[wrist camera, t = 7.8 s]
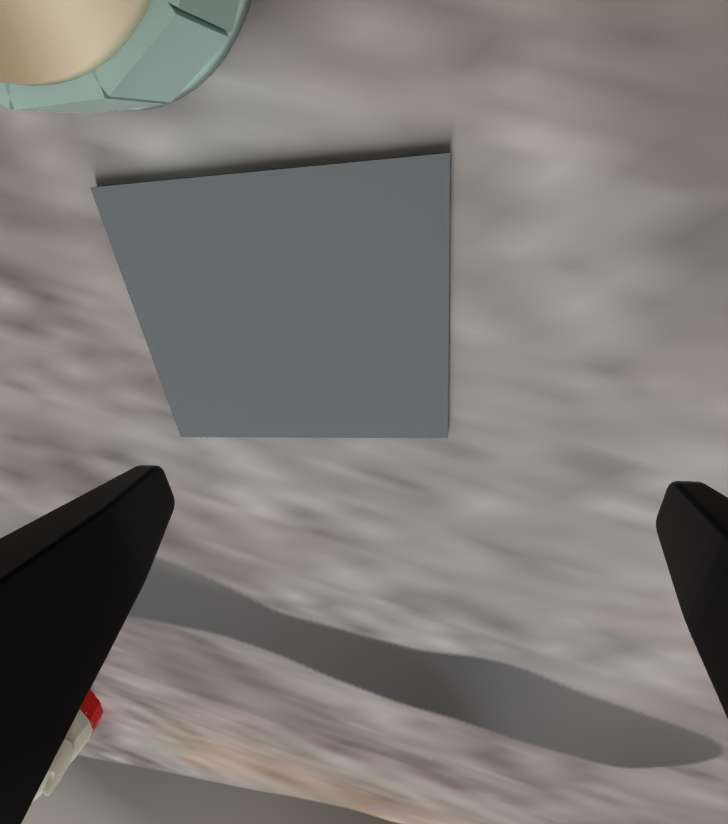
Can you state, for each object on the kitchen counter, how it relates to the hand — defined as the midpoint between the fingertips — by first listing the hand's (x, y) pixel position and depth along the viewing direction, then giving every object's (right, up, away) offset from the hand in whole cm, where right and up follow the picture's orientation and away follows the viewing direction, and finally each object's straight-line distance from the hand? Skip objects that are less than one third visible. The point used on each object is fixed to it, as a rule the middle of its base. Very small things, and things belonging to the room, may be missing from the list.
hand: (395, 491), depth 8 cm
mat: (-4, +5, +12) cm, 14 cm away
